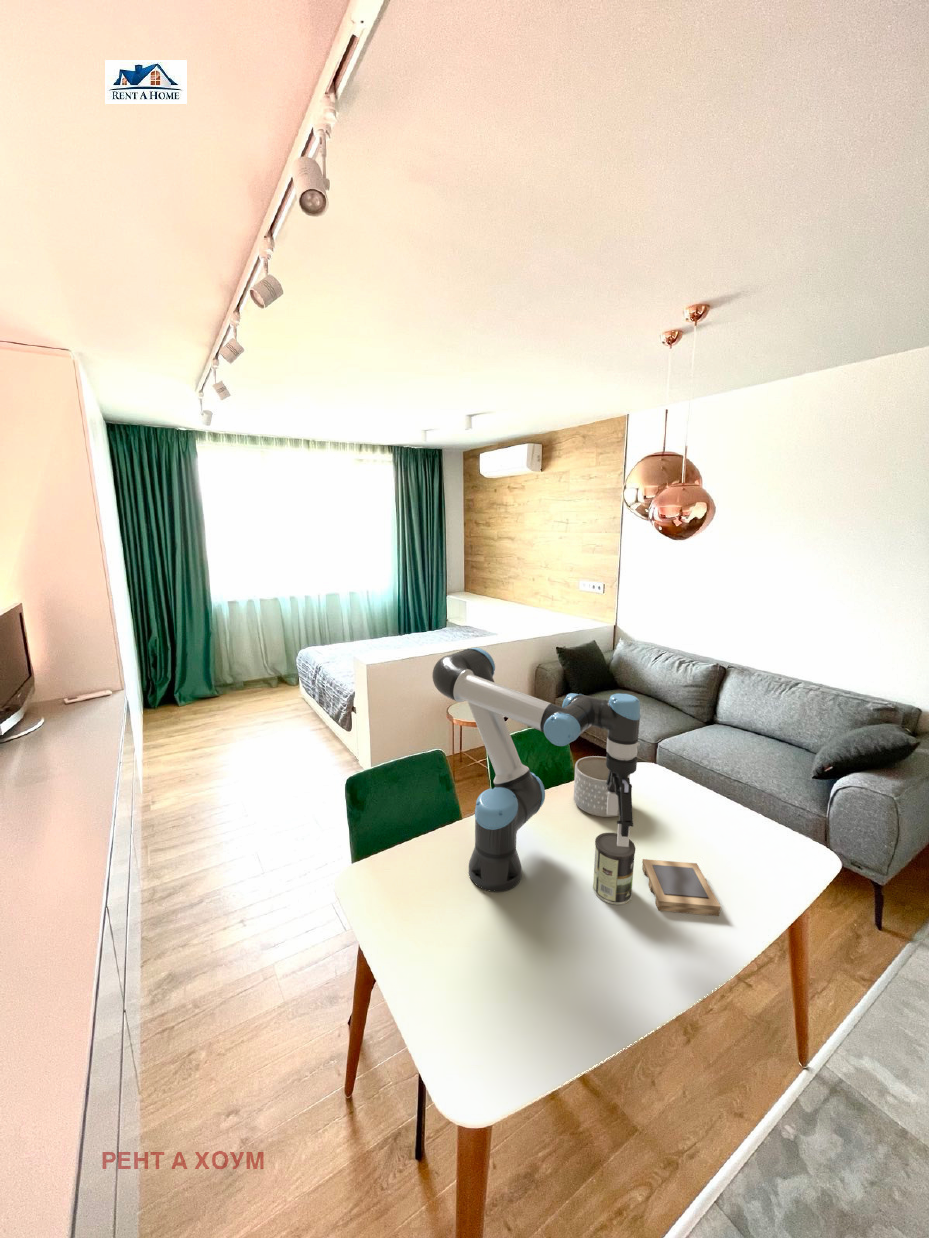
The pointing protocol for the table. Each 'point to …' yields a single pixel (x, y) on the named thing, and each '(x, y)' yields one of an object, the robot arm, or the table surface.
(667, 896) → the dock
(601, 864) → the coffee can
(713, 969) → the table surface
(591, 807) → the planter
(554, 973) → the table surface
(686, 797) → the table surface
